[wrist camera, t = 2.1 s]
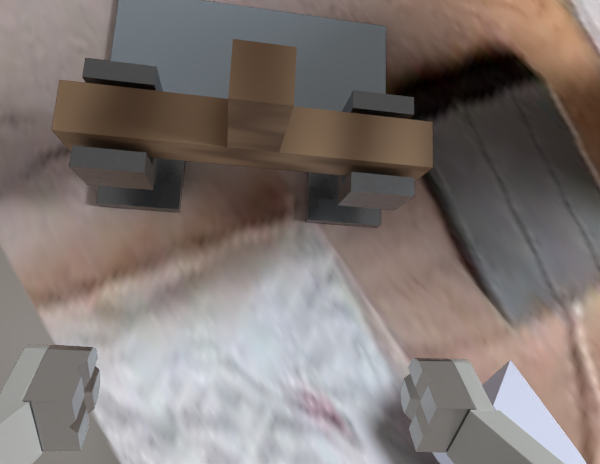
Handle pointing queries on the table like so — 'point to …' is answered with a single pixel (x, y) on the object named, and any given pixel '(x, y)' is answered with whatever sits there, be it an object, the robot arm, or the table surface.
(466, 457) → the robot arm
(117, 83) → the hook posts
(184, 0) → the slate mat
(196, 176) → the table surface
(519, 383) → the white wedge
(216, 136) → the walnut rail
